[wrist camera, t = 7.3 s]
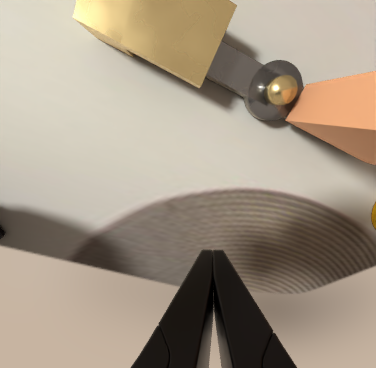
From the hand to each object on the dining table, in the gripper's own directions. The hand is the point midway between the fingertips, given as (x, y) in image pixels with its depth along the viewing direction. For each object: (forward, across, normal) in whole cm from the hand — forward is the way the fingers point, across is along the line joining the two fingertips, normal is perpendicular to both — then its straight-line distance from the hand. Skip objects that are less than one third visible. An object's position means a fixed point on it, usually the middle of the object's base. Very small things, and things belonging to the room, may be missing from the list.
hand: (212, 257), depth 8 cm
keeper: (+13, +4, -11) cm, 17 cm away
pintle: (+12, -5, -6) cm, 14 cm away
